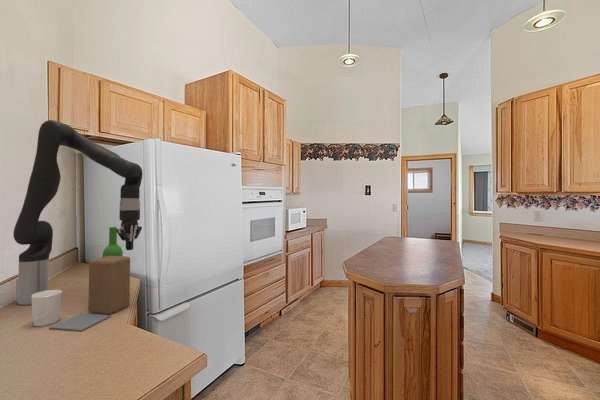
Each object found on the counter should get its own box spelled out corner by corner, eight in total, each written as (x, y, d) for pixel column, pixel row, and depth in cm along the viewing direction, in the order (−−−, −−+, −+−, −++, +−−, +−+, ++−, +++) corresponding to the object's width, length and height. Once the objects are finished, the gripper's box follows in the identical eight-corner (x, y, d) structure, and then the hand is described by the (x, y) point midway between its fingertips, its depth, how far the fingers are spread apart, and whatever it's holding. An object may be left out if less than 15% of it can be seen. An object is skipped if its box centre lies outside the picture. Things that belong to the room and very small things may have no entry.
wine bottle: (97, 294, 129) (98, 227, 129) (114, 289, 136) (115, 226, 137) (109, 296, 126) (110, 228, 126) (126, 291, 133) (127, 227, 134)
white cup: (66, 319, 102) (67, 291, 102) (40, 328, 94) (40, 298, 94) (51, 316, 104) (52, 288, 105) (25, 325, 97) (25, 295, 97)
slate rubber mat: (48, 329, 94) (48, 327, 94) (80, 314, 106) (81, 313, 106) (82, 331, 93) (82, 329, 93) (110, 316, 105) (110, 315, 105)
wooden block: (109, 315, 106) (110, 261, 106) (86, 313, 108) (87, 259, 108) (130, 306, 116) (131, 256, 116) (109, 303, 118) (110, 255, 118)
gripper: (132, 208, 129) (132, 247, 129) (109, 209, 116) (109, 252, 116) (148, 208, 129) (147, 247, 128) (126, 209, 115) (126, 252, 115)
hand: (129, 249), depth 122 cm, fingers closed
